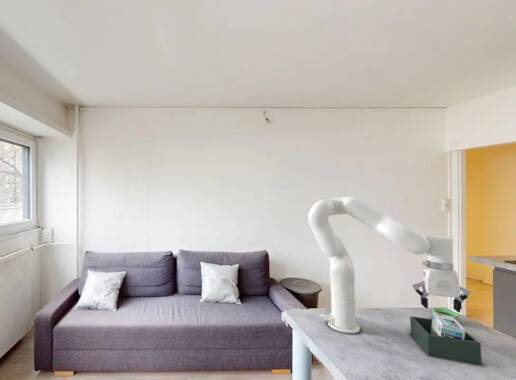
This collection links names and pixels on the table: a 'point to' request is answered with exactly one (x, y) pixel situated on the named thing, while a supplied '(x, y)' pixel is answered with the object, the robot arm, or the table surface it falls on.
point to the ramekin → (446, 312)
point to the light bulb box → (447, 327)
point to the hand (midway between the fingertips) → (440, 308)
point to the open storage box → (445, 343)
